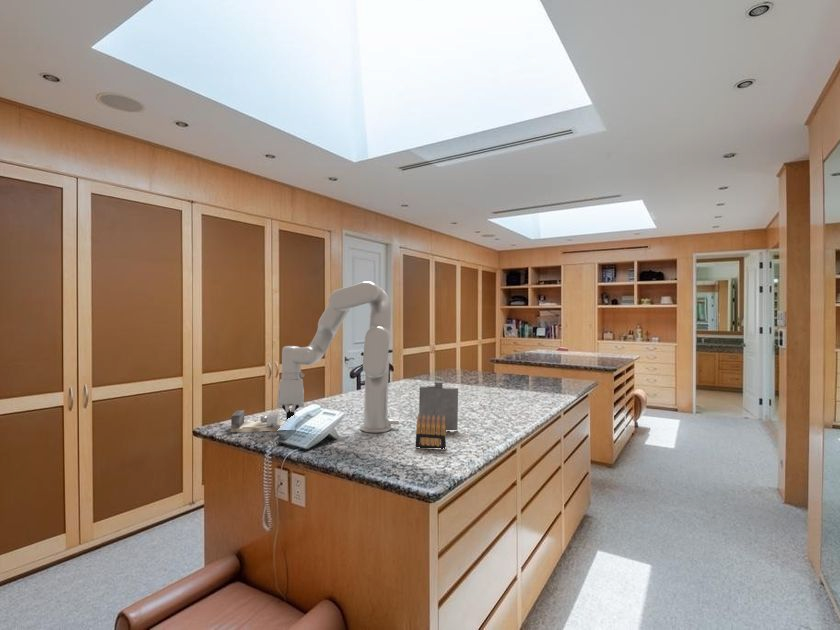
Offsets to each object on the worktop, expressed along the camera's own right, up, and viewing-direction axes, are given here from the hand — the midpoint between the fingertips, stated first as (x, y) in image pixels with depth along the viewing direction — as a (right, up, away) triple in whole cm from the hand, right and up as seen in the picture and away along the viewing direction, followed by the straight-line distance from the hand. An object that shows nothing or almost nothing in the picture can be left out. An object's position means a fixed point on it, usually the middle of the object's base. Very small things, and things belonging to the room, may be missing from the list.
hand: (290, 421), depth 176 cm
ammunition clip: (+57, -4, -24) cm, 62 cm away
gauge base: (-12, -2, -2) cm, 12 cm away
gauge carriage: (-8, -1, -3) cm, 8 cm away
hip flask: (+60, -4, 0) cm, 60 cm away
